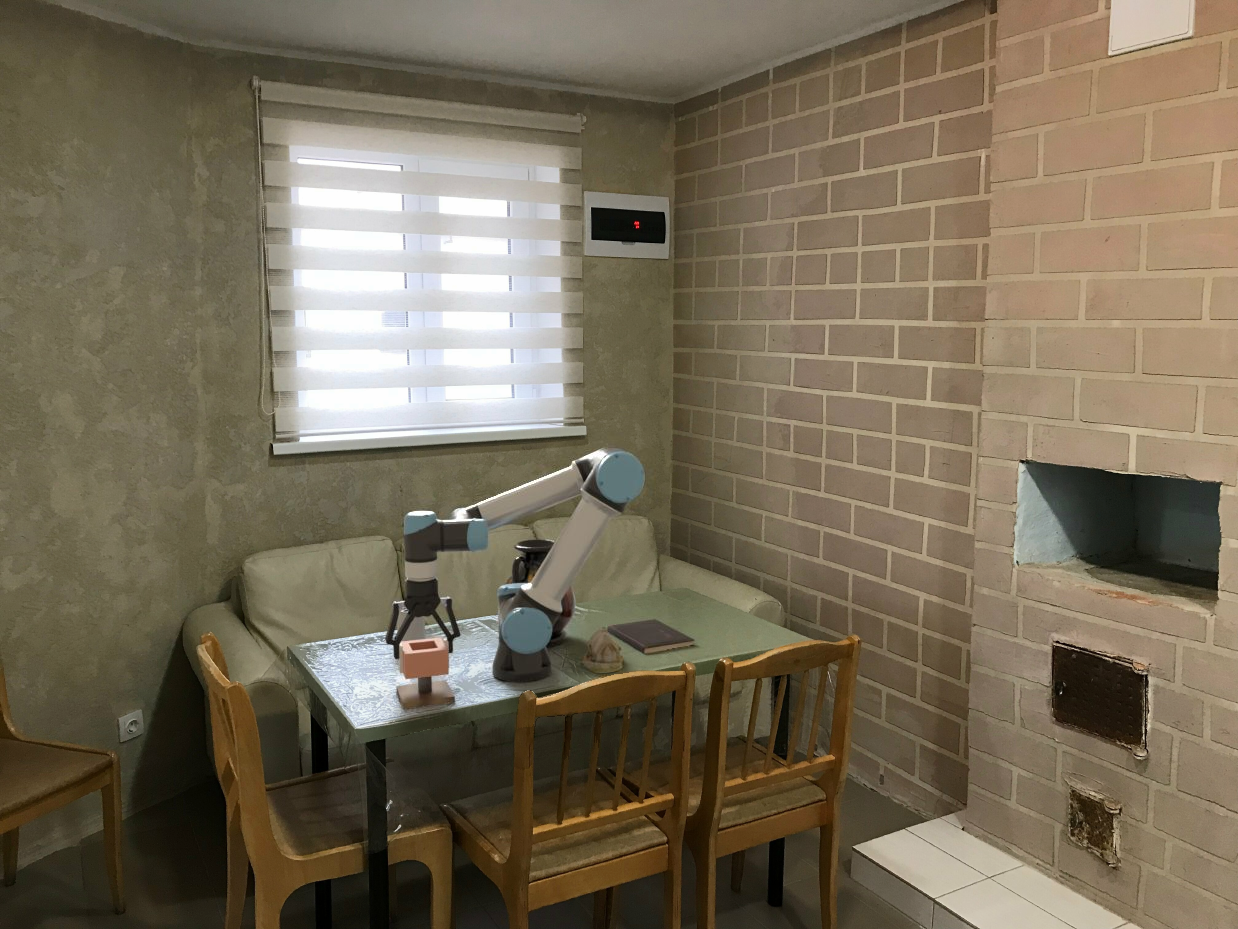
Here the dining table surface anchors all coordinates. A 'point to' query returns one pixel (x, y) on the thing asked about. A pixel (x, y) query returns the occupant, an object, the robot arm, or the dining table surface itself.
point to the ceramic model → (603, 653)
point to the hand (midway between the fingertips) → (424, 669)
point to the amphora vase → (525, 572)
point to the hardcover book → (649, 636)
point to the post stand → (425, 693)
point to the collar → (425, 658)
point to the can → (412, 626)
